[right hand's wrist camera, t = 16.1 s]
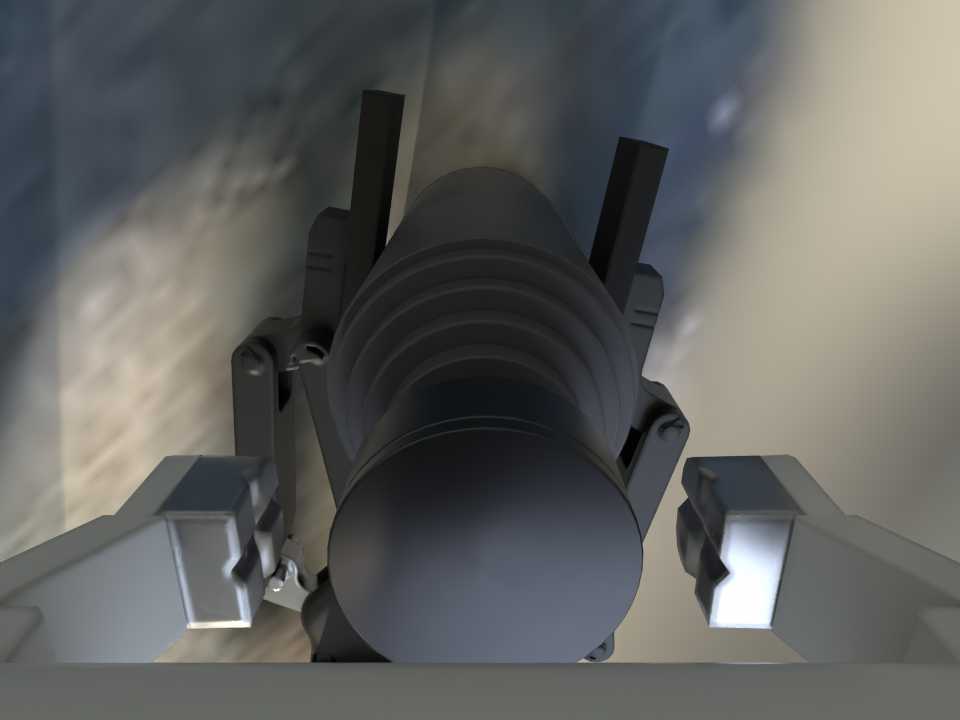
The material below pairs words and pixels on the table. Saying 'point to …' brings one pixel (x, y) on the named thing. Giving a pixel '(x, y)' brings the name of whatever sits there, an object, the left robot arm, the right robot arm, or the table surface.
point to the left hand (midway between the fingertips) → (515, 119)
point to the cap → (484, 529)
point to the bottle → (482, 310)
